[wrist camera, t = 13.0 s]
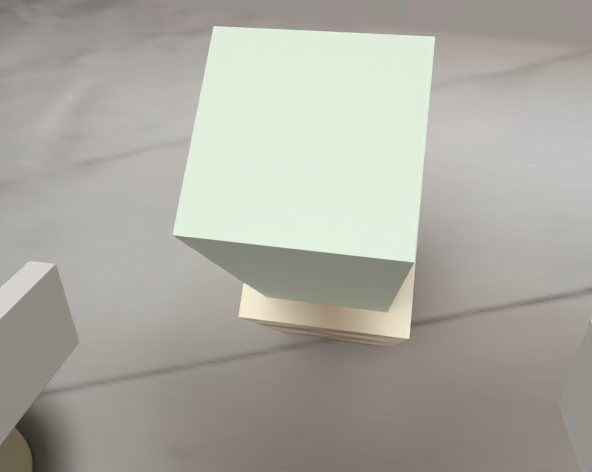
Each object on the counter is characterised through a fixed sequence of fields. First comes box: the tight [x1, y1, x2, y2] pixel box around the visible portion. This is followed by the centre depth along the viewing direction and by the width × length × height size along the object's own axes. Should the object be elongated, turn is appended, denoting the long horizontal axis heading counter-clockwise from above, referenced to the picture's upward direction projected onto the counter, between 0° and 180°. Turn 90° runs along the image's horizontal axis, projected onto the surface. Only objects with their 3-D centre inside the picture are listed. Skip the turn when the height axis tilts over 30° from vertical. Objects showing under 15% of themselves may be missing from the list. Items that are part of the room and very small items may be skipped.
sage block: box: [173, 26, 435, 313], centre depth 16 cm, size 5×5×11 cm
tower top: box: [238, 175, 423, 344], centre depth 25 cm, size 7×7×7 cm
